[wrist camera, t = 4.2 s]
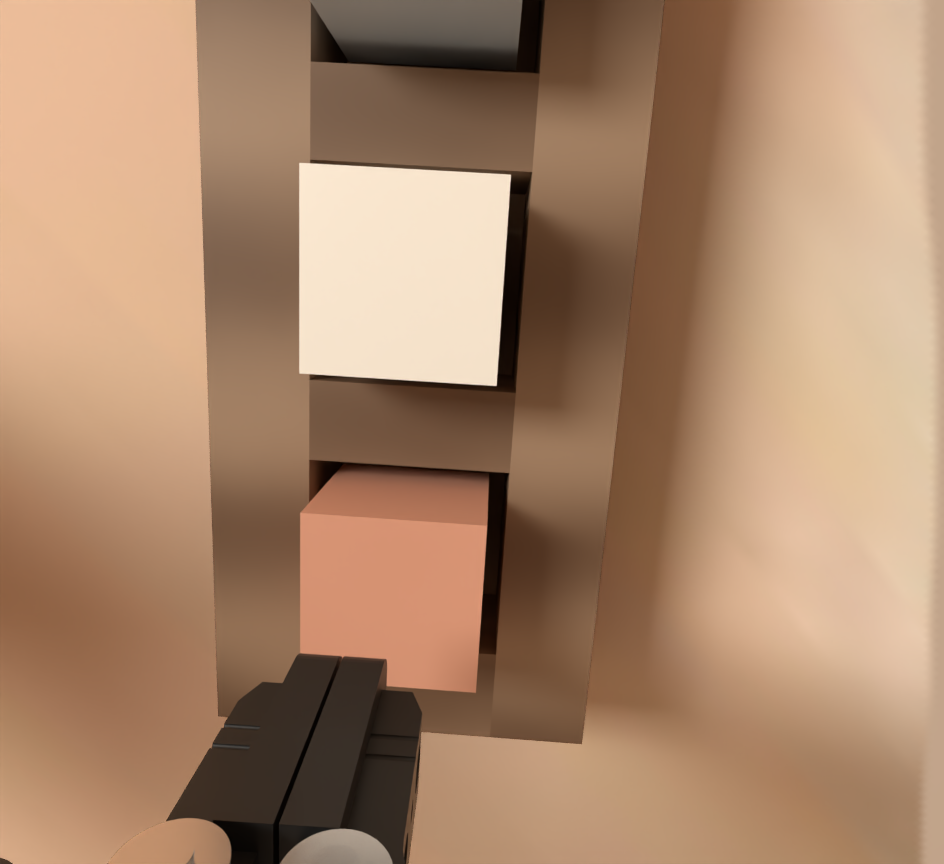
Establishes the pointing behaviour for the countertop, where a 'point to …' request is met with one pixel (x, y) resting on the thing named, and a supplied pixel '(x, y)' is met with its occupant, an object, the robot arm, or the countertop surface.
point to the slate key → (426, 31)
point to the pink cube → (397, 572)
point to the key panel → (418, 402)
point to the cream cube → (401, 272)
